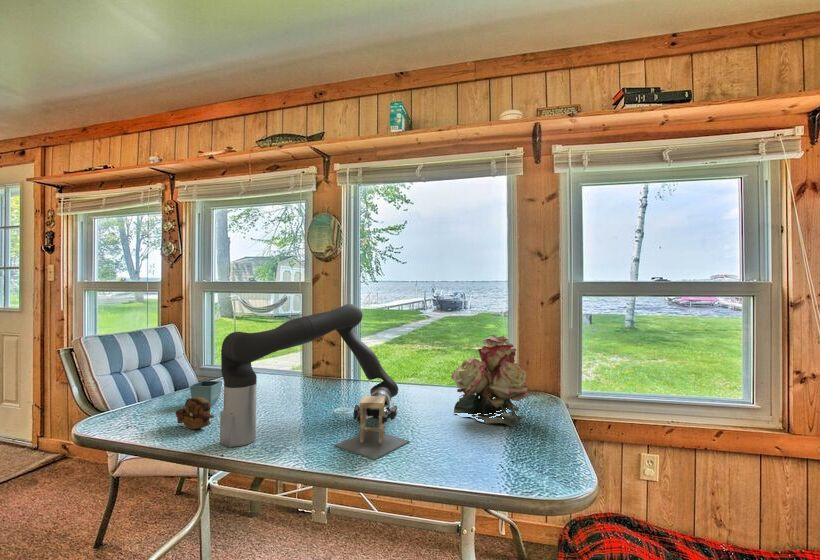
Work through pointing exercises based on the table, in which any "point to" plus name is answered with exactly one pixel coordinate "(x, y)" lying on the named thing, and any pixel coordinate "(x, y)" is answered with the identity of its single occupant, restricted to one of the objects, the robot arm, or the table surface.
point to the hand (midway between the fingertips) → (371, 419)
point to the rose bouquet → (491, 382)
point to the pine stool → (365, 403)
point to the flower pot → (207, 390)
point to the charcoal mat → (372, 445)
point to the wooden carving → (195, 413)
